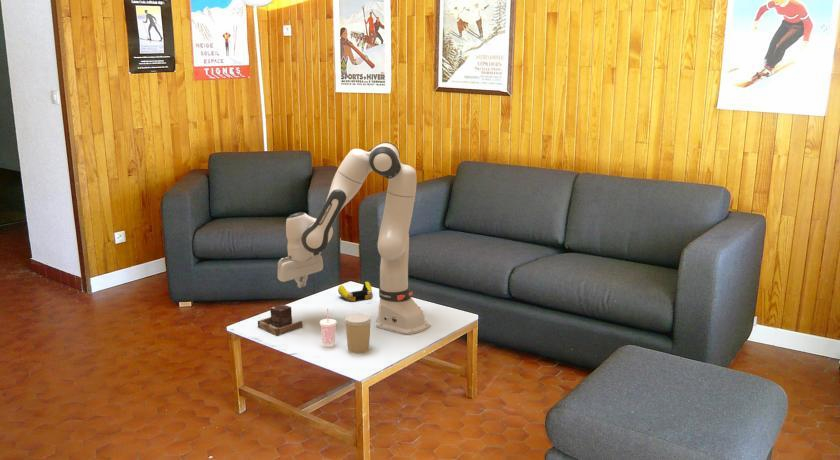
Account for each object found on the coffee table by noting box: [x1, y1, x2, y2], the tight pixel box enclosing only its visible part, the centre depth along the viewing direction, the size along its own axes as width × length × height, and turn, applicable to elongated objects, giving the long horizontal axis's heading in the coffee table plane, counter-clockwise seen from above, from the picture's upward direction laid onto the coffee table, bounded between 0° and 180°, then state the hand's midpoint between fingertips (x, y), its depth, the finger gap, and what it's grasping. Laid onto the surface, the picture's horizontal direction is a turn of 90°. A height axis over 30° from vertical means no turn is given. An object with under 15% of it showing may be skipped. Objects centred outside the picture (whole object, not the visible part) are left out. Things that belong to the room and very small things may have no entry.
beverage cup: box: [319, 308, 337, 348], centre depth 270 cm, size 6×6×14 cm
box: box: [269, 303, 293, 328], centre depth 290 cm, size 6×6×7 cm
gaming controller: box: [337, 281, 373, 302], centre depth 322 cm, size 15×6×10 cm
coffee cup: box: [344, 313, 372, 354], centre depth 267 cm, size 9×9×12 cm
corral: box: [257, 316, 303, 336], centre depth 288 cm, size 13×12×2 cm
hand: (301, 286), depth 292 cm, fingers closed
